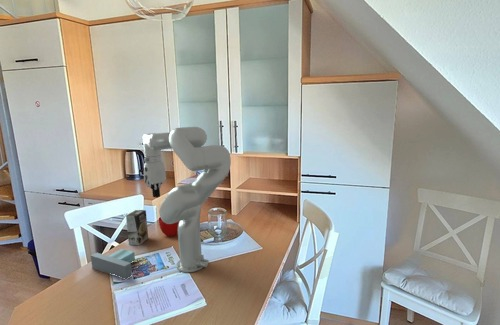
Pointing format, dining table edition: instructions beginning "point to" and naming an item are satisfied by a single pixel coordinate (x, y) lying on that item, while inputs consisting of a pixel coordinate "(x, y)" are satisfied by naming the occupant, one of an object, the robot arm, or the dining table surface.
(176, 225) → the ceramic cup
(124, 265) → the board
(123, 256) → the block
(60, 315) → the dining table surface
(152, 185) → the robot arm
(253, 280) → the dining table surface
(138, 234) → the coffee box
